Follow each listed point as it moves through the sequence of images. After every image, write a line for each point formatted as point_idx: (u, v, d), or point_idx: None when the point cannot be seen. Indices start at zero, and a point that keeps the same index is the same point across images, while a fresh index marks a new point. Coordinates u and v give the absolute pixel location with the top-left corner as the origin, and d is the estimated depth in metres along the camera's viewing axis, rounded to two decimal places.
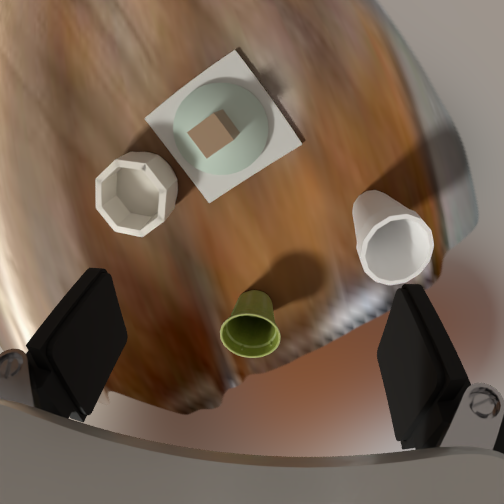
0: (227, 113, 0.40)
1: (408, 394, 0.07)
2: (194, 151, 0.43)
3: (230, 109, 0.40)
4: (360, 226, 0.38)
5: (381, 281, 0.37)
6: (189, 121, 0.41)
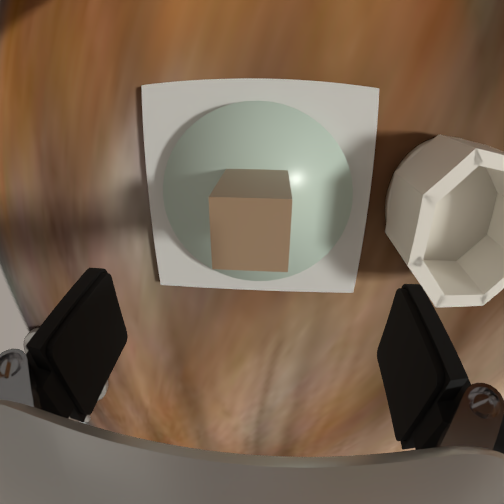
0: None
1: (408, 394, 0.07)
2: (327, 194, 0.21)
3: None
4: None
5: None
6: (293, 244, 0.23)
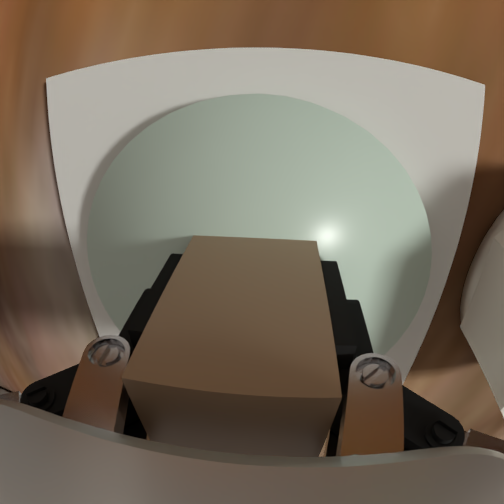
0: None
1: None
2: (385, 282, 0.11)
3: None
4: None
5: None
6: None
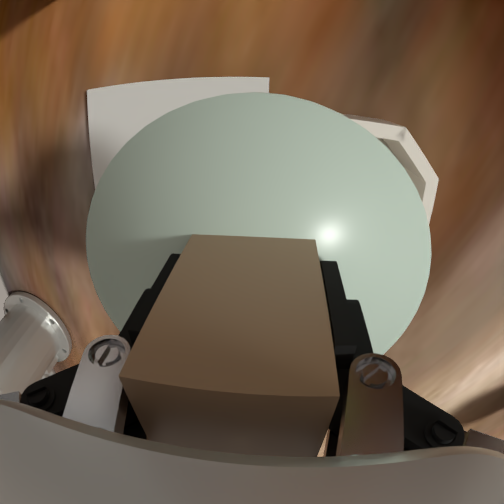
0: None
1: None
2: (384, 281, 0.11)
3: None
4: None
5: None
6: None
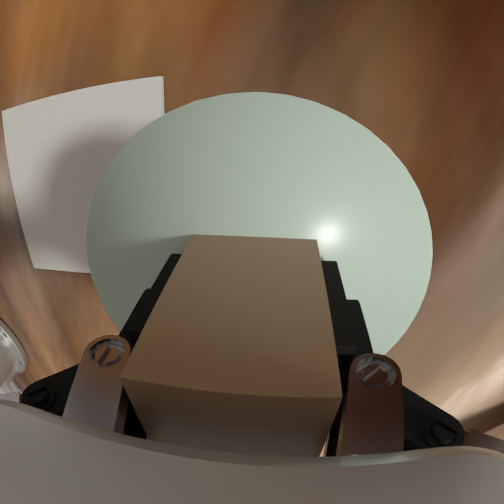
0: None
1: None
2: (386, 281, 0.11)
3: None
4: None
5: None
6: None
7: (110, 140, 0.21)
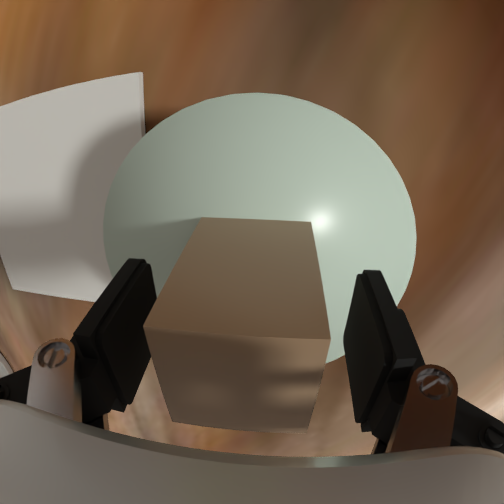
0: None
1: (364, 375, 0.08)
2: (374, 260, 0.12)
3: None
4: None
5: None
6: None
7: (83, 150, 0.17)
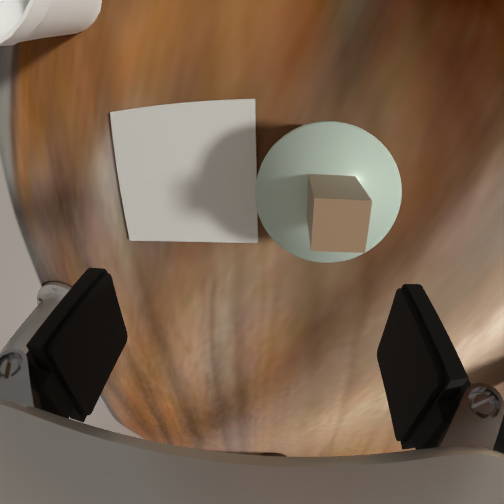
0: (305, 208, 0.28)
1: (408, 394, 0.07)
2: (383, 194, 0.26)
3: (297, 210, 0.28)
4: (48, 21, 0.18)
5: None
6: None
7: (214, 141, 0.32)
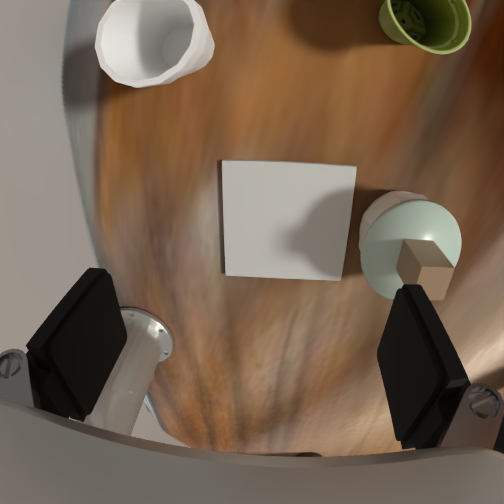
0: (396, 262, 0.35)
1: (408, 394, 0.07)
2: (448, 253, 0.33)
3: (390, 264, 0.35)
4: None
5: None
6: None
7: (319, 198, 0.39)
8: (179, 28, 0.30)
